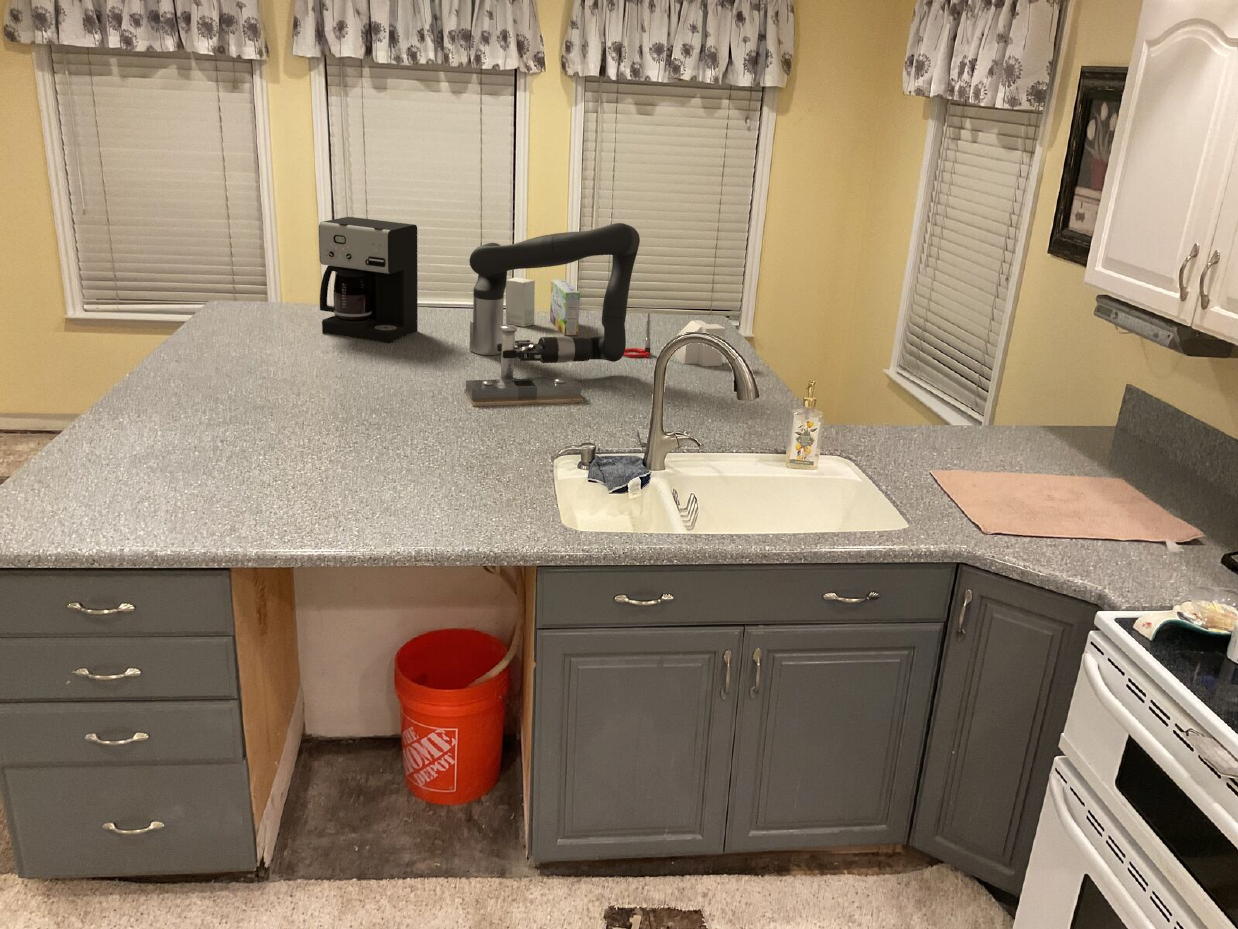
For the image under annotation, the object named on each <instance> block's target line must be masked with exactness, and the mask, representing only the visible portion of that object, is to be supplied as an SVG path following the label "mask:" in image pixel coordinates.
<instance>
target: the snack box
mask: <svg viewBox="0 0 1238 929" xmlns="http://www.w3.org/2000/svg"><path fill="white" fill-rule="evenodd" d="M580 294H581V292H580V291H578V290H577V289H576V288H575V287H574V286H573V285H571V283H569V282H568V281H567V280H566V279H551V280H550V309H549V310H550V312H549V314H550V317H549V318H550V319H549V321H550V322H551V323H552V324H553V325H554V327H556V329H557V330H558V331H559V332H560V334H561V335H562V336H563V337H569V336H570V337H571V336H573V337H575V336H576V337H577V336H578V337H579V320H580V318H579V316H580V296H581V295H580Z"/></svg>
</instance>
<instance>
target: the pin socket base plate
mask: <svg viewBox="0 0 1238 929" xmlns="http://www.w3.org/2000/svg"><path fill="white" fill-rule="evenodd" d="M463 391H464V392H463V393H464V395H465V396H466V398H467V399H468V400H469V402H470V404H471V405H472V406H473V407H487V406H488V407H489V406H492V407H493V406H515V405H542V404H543V405H544V404H563V403H564V404H568V403H569V404H570V403H584V398H583V397H582V385H581V384H580V383H579V382H578V381H577V380H576V379H575V378H574V377H572V376H571V377H570V376H569V377H544V378H542V377H541V378H539V377H538V378H536V377H535V378H513V379H502V378H500V379H475V380H474V379H472V380H471V379H469V380H465V388H464V390H463Z"/></svg>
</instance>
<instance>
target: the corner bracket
mask: <svg viewBox="0 0 1238 929" xmlns="http://www.w3.org/2000/svg"><path fill="white" fill-rule="evenodd" d="M695 331H696V332H709V333H712V334H716V335H719V336H722V337H724V338H725V334H726V328H725V327H724V326H722V325H721V324H718V323H717V324H716V323H714V324H712V323H711V324H710V323H709V324H708V323H707V322H704V321H703V320H702V319H700V320H697V319H696V320H690V322H689V323H687V324H686V326H684V327H683V328H682V330H680V332H679V333H677V334H676V337H677V336H678V335H681V334H684V333H686V332H695ZM674 359H676V360H678V361H679V362H681V363H682V364H685V365H687V364H688V365H689V364H697V365H700V366H701V367H711V366H712V367H714V366H716V367H717V366H722V360H723V354H722V355H721V354H720V353H718V352H717V351H716V350H715V349H712V347H711V346H706V345H703V344H698V343H692V344H689V345H687V346H683V347H682V348H681V349H678V351H677V352H676V353H675V352H674Z"/></svg>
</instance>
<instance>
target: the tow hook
mask: <svg viewBox="0 0 1238 929" xmlns="http://www.w3.org/2000/svg"><path fill="white" fill-rule="evenodd" d="M646 317H647V319H646V326H645V328H646V331H645V346H644V348H636V347H627V348H625V352H624V355H623V357H625V356H629V357H628V358H646V357H647V358H646V359H649V358H650V356H651V349H652V348H651V322H652V321H651V313H650V312H647V316H646ZM628 351H633V353H629V352H628Z"/></svg>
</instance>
